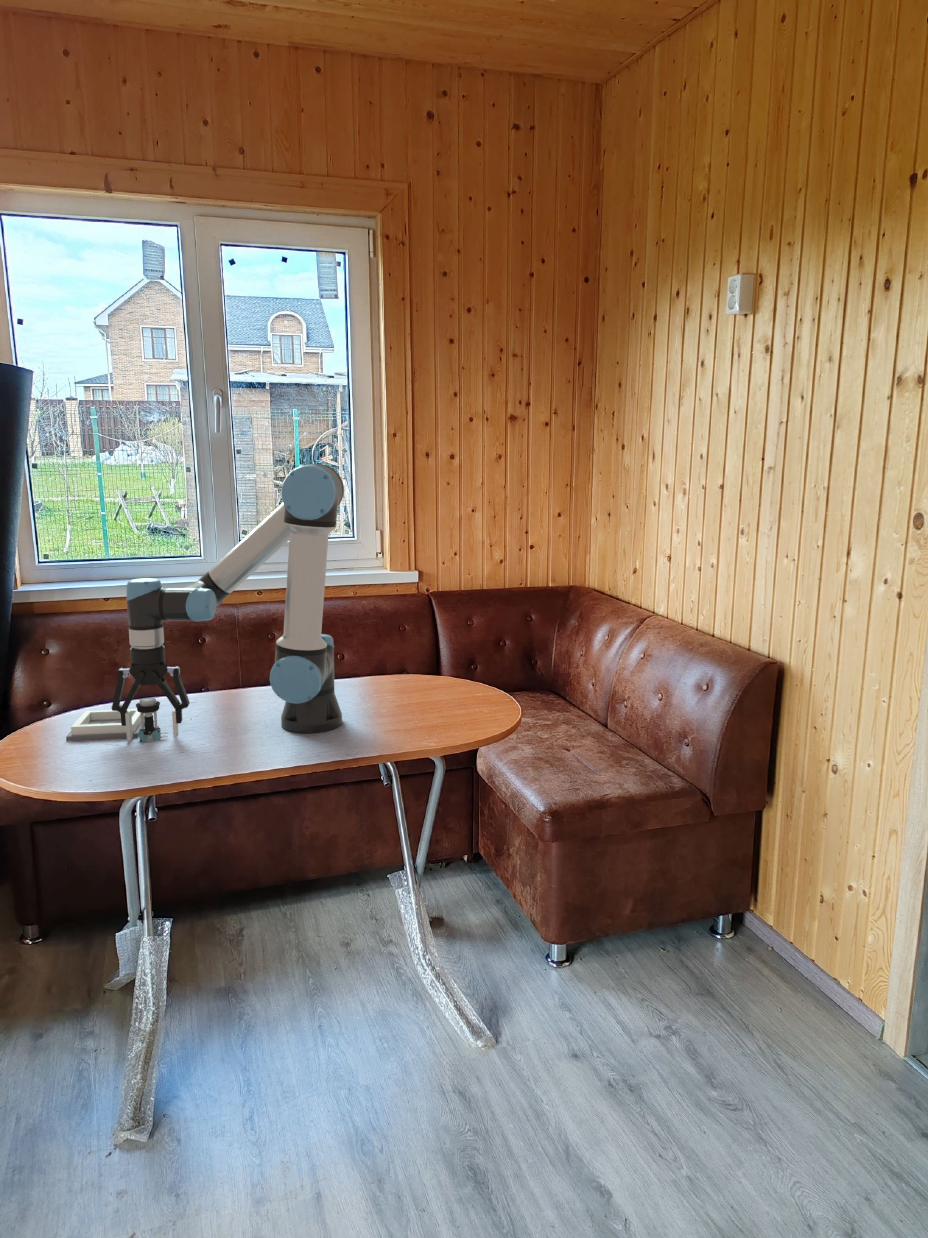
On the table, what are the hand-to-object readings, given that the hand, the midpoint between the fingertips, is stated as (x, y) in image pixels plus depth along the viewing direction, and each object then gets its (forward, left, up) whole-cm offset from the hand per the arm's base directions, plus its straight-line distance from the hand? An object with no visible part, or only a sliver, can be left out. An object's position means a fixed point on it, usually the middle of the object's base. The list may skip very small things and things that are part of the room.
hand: (153, 737), depth 200 cm
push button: (0, 0, -1) cm, 1 cm away
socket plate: (+12, -10, -1) cm, 16 cm away
